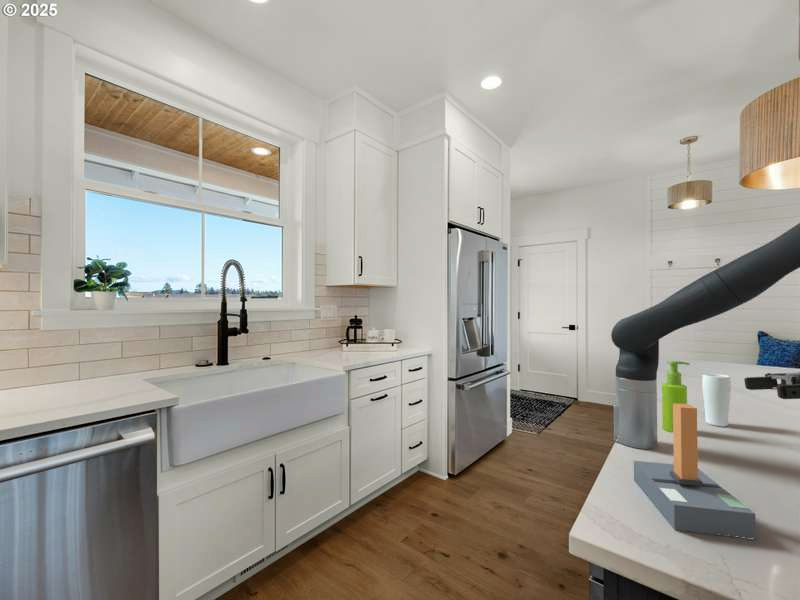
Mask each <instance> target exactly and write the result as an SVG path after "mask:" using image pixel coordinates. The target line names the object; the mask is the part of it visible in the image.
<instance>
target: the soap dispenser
mask: <svg viewBox="0 0 800 600" xmlns="http://www.w3.org/2000/svg"><path fill="white" fill-rule="evenodd" d="M666 363H667V365H670V366H669V367H670V371H668V372H666V382H664V383H661V399H662V400H661V409H662V413H661V418H662V419H661V421H662V422H661V423H662V428H661V429H662V430H663V431H666V432H668V433H669V432H670V433H673V403H676V404H688V388H687V387H688V386H687V385H685V384H682V373H681V372H680V371H678V369H679V368H678V367H679V366H678V365H687V366H689V365H690V363H689V362H684V361H681V360H670V361H667V362H666Z"/></svg>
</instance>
